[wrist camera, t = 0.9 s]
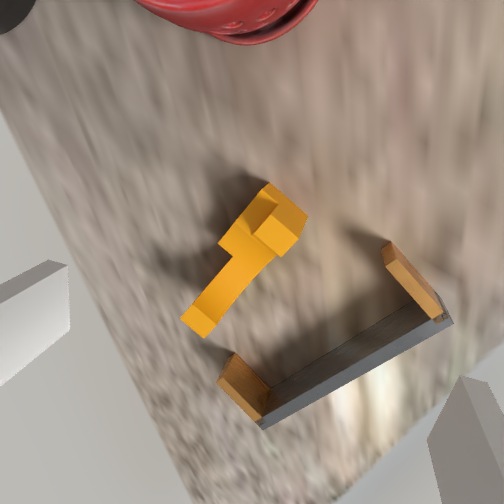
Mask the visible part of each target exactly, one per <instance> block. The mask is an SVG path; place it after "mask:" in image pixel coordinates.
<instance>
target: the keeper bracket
mask: <svg viewBox="0 0 504 504" xmlns="http://www.w3.org/2000/svg"><path fill="white" fill-rule="evenodd" d="M381 250H382V255H383V259H384V264H385V267H386V268H387V269H388V270H389V272H390V273H391V274H392V275H393V276H394V277H395V278H396V279H397V281H398V282H399V283H400V284H401V285H402V286H403V287H404V288H405V290H406V291H407V292H408V293H409V294H410V295H411V296H412V298H413V299H414V301H412V302H410V303H409V304H407V305H406V306H404V307H402V308H401V309H399V310H398V311H396V312H394V313H393V314H391V315H389V316H388V317H386V318H385V319H383V320H381V321H380V322H378V323H376V324H375V325H373V326H372V327H370V328H368V329H367V330H365V331H363V332H362V333H360V334H359V335H357V336H355V337H354V338H352V339H350V340H349V341H347V342H346V343H344V344H342V345H341V346H339V347H338V348H336V349H334V350H333V351H331V352H329V353H328V354H326V355H325V356H323V357H321V358H320V359H318V360H316V361H315V362H313V363H312V364H310V365H308V366H307V367H305V368H303V369H302V370H300V371H299V372H297V373H295V374H294V375H292V376H291V377H289V378H287V379H286V380H284V381H282V382H281V383H279V384H278V385H276V386H274V387H273V388H271V389H270V388H269V387H268V386H267V385H266V384H265V383H264V382H263V381H262V380H261V379H260V378H259V377H258V376H257V375H256V374H255V373H254V372H253V371H252V369H251V368H250V367H249V366H248V365H247V364H246V363H245V362H244V361H243V360H242V359H241V358H240V357H239V356H238V355H237V354H236V353H234V354H232V355H231V356H230V357H229V358H228V360H227V362H226V364H225V366H224V368H223V370H222V372H221V374H220V376H219V378H218V380H217V382H216V383H217V384H218V385H219V386H220V387H221V388H222V389H223V390H224V391H225V392H226V393H227V394H228V395H229V396H230V397H231V398H232V399H233V400H234V401H235V402H236V403H237V404H238V405H239V406H240V407H241V408H242V409H243V410H244V412H245V413H246V414H247V415H248V416H249V417H250V418H251V419H252V420H253V421H254V422H255V423H256V424H257V425H258V426H259V427H260V428H261V429H262V430H265V429H266V428H268V427H270V426H272V425H274V424H275V423H277V422H279V421H281V420H282V419H284V418H286V417H288V416H290V415H291V414H293V413H295V412H297V411H299V410H300V409H302V408H304V407H306V406H308V405H309V404H311V403H313V402H315V401H316V400H318V399H320V398H322V397H324V396H325V395H327V394H329V393H331V392H333V391H334V390H336V389H338V388H340V387H342V386H343V385H345V384H347V383H349V382H350V381H352V380H354V379H356V378H358V377H359V376H361V375H363V374H365V373H367V372H368V371H370V370H372V369H374V368H376V367H377V366H379V365H381V364H383V363H384V362H386V361H388V360H390V359H392V358H393V357H395V356H397V355H399V354H401V353H402V352H404V351H406V350H408V349H409V348H411V347H413V346H415V345H417V344H418V343H420V342H422V341H424V340H426V339H427V338H429V337H431V336H433V335H435V334H436V333H438V332H440V331H442V330H443V329H445V328H447V327H449V326H451V325H452V324H454V323H453V321H452V319H451V317H450V315H449V313H448V311H447V309H446V307H445V305H444V303H443V301H442V299H441V298H440V297H439V295H438V294H437V293H436V292H435V291H434V290H433V289H432V287H431V286H430V285H429V284H428V283H427V282H426V281H425V279H424V278H423V277H422V276H421V275H420V274H419V273H418V271H417V270H416V269H415V268H414V267H413V266H412V265H411V263H410V262H409V261H408V260H407V259H406V258H405V257H404V255H403V254H402V253H401V252H400V251H399V250H398V249H397V247H396V246H395V245H394V244H393V243H392V242H390V243H388V244H387V245H386V246H384V247H383V248H381Z"/></svg>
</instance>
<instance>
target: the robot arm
mask: <svg viewBox="0 0 504 504" xmlns="http://www.w3.org/2000/svg"><path fill="white" fill-rule="evenodd" d="M35 1H36V0H0V34H3V33H6V32H8V31H10V30H11V29H13V28H14V27H16V26H17V25H18V24H19V23H20V22H21V21H22V20H23V19H24V18H25V17H26V16H27V15H28V13H29V12H30V10H31V9H32V7H33V5H34V3H35ZM69 330H70V312H69V288H68V266H67V265H65V264H62V263H58V262H54V261H51V260H47V261H45V262H43V263H41V264H39V265H37V266H35V267H34V268H32V269H30V270H28V271H26V272H24V273H22V274H20V275H18V276H16V277H14V278H12V279H11V280H8V281H7V282H5V283H3V284H1V285H0V386H2V385H3V384H4V383H5V382H7V381H8V380H9V379H10V378H11V377H13V376H14V375H15V374H16V373H18V372H19V371H20V370H21V369H23V368H24V367H25V366H26V365H27V364H29V363H30V362H31V361H32V360H34V359H35V358H36V357H37V356H38V355H40V354H41V353H42V352H43V351H44V350H46V349H47V348H48V347H49V346H51V345H52V344H53V343H54V342H56V341H57V340H58V339H59V338H60V337H62V336H63V335H64V334H65V333H67V332H68V331H69ZM427 443H428V447H429V451H430V455H431V459H432V463H433V468H434V472H435V476H436V480H437V484H438V488H439V492H440V496H441V501H442V504H504V415H503V413H502V411H501V409H500V407H499V405H498V403H497V401H496V399H495V397H494V395H493V393H492V391H491V389H490V387H489V385H488V383H487V382H482V381H479V380H476V379H472V378H469V377H465V376H462V375H460V376H459V378H458V380H457V382H456V384H455V386H454V388H453V390H452V392H451V394H450V396H449V398H448V399H447V401H446V403H445V405H444V407H443V409H442V411H441V413H440V415H439V417H438V419H437V421H436V423H435V425H434V427H433V429H432V431H431V433H430V435H429V437H428V438H427Z"/></svg>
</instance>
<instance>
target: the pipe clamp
mask: <svg viewBox="0 0 504 504" xmlns="http://www.w3.org/2000/svg"><path fill="white" fill-rule="evenodd" d="M307 218H308V215H306V214H305V213H304V212H303V211H302V210H301V209H300V208H298V207H297V206H296V205H295V204H294V203H293V202H292V201H290V200H289V199H288V198H287V197H286V196H285V195H284V194H282V193H281V192H280V191H279V190H278V189H277V188H276V187H274V186H273V185H272V184H271V183H268V184H267V185H266V186H265V187H264V188H262V189H261V191H260V192H259V193H258V194H257V195H256V197H255V198H254V199H253V200H252V202H251V203H250V204H249V205H248V206H247V208H246V209H245V210H244V211H243V212H242V214H241V215H240V216H239V217H238V219H237V220H236V221H235V222H234V224H233V225H232V226H231V228H230V229H229V230H228V231H227V233H226V234H225V235H224V236H223V238H222V239H221V240H220V241H219V242H218V244H219V245H220V246H221V247H222V248H224V249H225V250H226V251H227V252H228V253H229V254H231V255H232V256H233V257H232V258H231V259H230V260H229V261H228V263H227V264H226V265H225V266H224V267H223V268H222V270H221V271H220V272H219V273H218V274H217V275H216V276H215V278H214V279H213V280H212V281H211V282H210V283H209V285H208V286H207V287H206V288H205V289H204V290H203V292H202V293H201V294H200V295H199V296H198V298H197V299H196V300H195V301H194V302H193V304H192V305H191V306H190V307H189V308H188V310H187V311H186V312H185V313H184V314H183V316H182V317H181V318H180V319H181V320H182V321H183V322H184V323H186V324H187V325H188V326H189V327H190V328H191V329H193V330H194V331H195V332H196V333H197V334H199V335H200V336H201V337H202V338H203V339H204V338H205V337H206V336H207V335H208V334H209V333H210V332H211V331H212V329H213V328H214V327H215V326H216V325H217V324H218V322H219V321H220V319H221V318H222V317H223V315H224V314H225V312H226V311H227V310H228V308H229V307H230V306H231V305H232V303H233V302H234V301H235V300H236V298H237V297H238V296H239V295H240V293H241V292H242V291H243V290H244V289H245V288H246V286H247V285H248V284H249V283H250V282H251V281H252V280H253V278H254V277H255V276H256V275H257V274H258V273H259V272H260V271H261V270H262V269H263V268H264V267H265V266H266V265H267V264H268V263H269V262H270V261H271V260H272V259H273V258H274V257H275V256H277V255H279V256H280V257H282V256H283V255H284V254H285V253H286V252H287V250H288V249H289V248H290V247H291V246H292V245H293V244H294V243H295V242H296V241H297V240H298V239H299V237H300V235H301V232H302V230H303V227H304V225H305V222H306V220H307Z"/></svg>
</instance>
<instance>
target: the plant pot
mask: <svg viewBox="0 0 504 504" xmlns="http://www.w3.org/2000/svg"><path fill="white" fill-rule="evenodd" d="M134 1H135V2H137V3H138V4H140V5H141V6H143V7H144V8H146V9H147V10H149V11H151V12H152V13H154V14H156V15H158V16H160V17H162V18H164V19H166V20H168V21H170V22H172V23H174V24H176V25H178V26H181V27H183V28H186V29H189V30H193V31H198V32H203V33H209V34H210V35H212V36H214V37H215V38H217V39H220V40H222V41H225V42H228V43H232V44H236V45H256V44H261V43H265V42H268V41H271V40H274V39H276V38H278V37H280V36H282V35H283V34H285V33H287V32H288V31H290V30H291V29H292V28H294V27H295V26H296V25H297V24H298V23H300V22H301V21H302V20H303V19H304V18H305V17H306V16H307V14H308V13H309V12H310V11H311V10H312V9H313V7H314V6H315V4H316V3H317V1H318V0H134Z"/></svg>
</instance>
